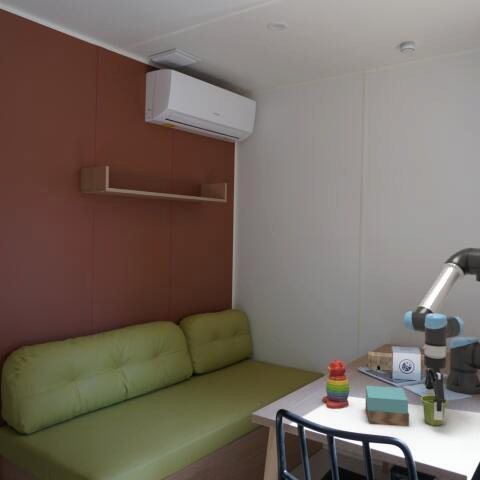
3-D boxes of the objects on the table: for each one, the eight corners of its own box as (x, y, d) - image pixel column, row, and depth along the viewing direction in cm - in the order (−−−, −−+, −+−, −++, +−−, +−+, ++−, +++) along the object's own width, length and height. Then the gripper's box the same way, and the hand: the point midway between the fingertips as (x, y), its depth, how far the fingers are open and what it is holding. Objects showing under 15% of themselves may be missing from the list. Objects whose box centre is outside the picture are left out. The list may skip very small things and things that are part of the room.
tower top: (402, 400, 194) (402, 388, 194) (407, 413, 180) (407, 400, 180) (365, 398, 197) (366, 385, 197) (368, 410, 183) (368, 397, 183)
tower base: (401, 413, 194) (402, 400, 194) (408, 427, 180) (409, 413, 180) (365, 411, 196) (365, 398, 196) (369, 424, 182) (369, 411, 182)
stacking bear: (321, 399, 208) (321, 357, 208) (344, 399, 209) (345, 357, 208) (327, 409, 197) (328, 364, 197) (352, 408, 198) (353, 364, 198)
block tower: (368, 371, 254) (428, 374, 246) (367, 355, 254) (428, 358, 246) (368, 367, 262) (427, 370, 253) (368, 351, 261) (427, 354, 253)
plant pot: (446, 419, 187) (446, 397, 187) (448, 429, 178) (448, 405, 178) (420, 416, 190) (420, 394, 190) (420, 425, 181) (421, 402, 181)
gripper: (417, 347, 196) (416, 400, 197) (432, 364, 172) (430, 424, 172) (437, 348, 195) (435, 402, 196) (455, 365, 171) (453, 426, 171)
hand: (433, 412), depth 184 cm, fingers open, 13 cm apart
